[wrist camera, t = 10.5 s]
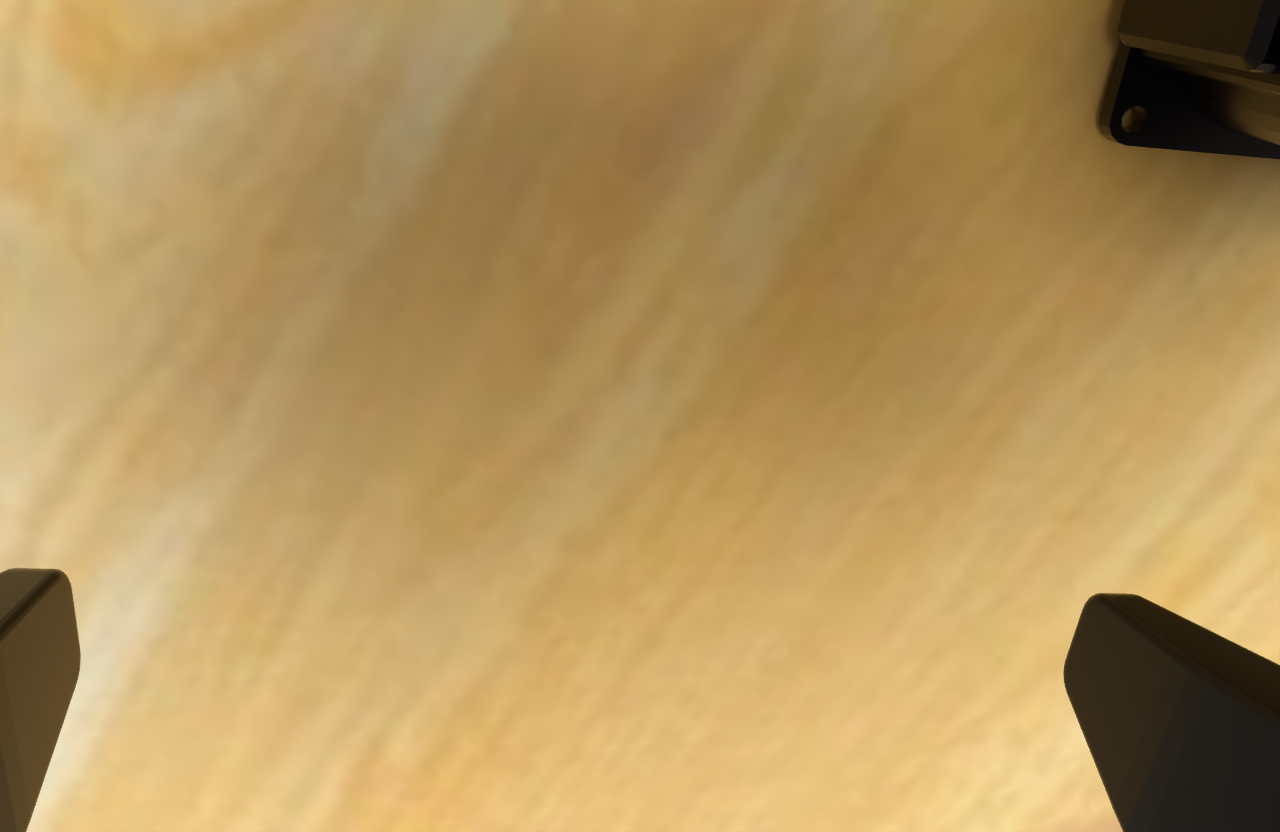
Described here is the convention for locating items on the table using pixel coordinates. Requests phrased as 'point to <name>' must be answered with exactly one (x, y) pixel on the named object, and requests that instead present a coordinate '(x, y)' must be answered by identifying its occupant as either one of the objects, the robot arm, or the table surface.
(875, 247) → the table surface
